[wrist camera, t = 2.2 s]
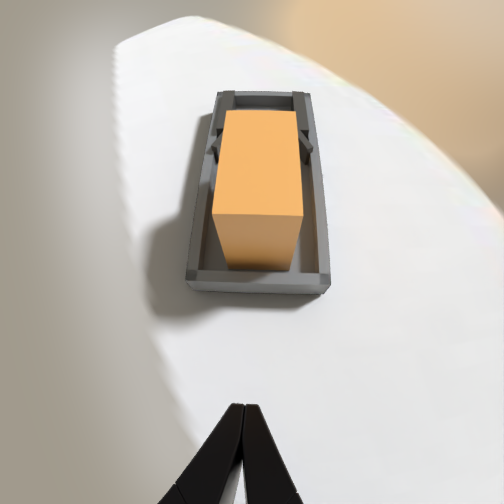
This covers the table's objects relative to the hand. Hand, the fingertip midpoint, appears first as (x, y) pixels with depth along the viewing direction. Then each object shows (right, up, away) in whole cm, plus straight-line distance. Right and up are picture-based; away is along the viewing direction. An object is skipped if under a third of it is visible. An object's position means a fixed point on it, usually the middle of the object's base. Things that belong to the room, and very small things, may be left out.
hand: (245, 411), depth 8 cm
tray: (+1, +11, +18) cm, 21 cm away
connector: (+1, +8, +15) cm, 17 cm away
